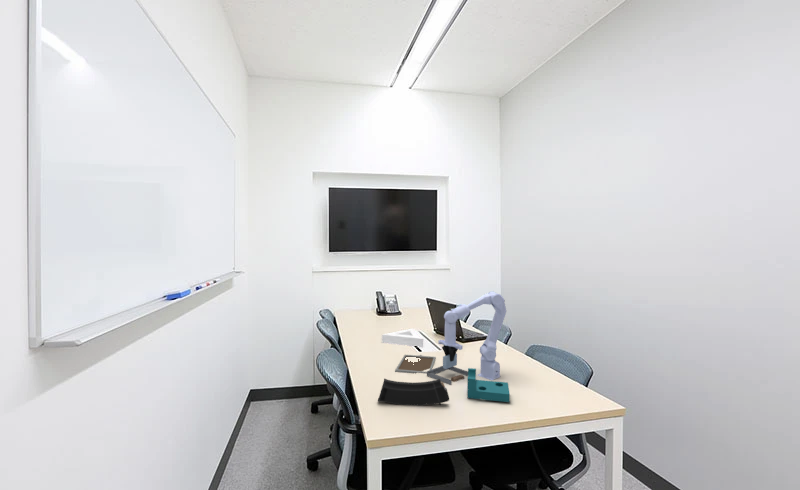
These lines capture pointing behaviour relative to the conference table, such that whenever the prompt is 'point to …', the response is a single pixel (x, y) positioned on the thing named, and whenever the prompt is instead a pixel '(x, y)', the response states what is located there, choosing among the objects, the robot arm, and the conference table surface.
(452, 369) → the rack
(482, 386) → the teal l-shaped bracket
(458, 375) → the offcut top
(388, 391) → the magazine
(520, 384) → the conference table surface
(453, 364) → the panel
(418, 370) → the picture frame
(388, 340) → the triangle block
